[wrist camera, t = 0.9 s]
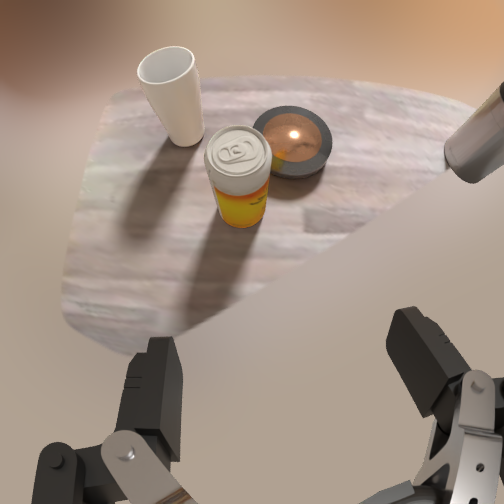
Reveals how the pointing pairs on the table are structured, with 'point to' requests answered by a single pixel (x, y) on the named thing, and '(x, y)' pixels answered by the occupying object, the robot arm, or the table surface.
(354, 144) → the table surface
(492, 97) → the robot arm
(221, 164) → the beer can
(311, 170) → the disc
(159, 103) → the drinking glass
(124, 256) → the table surface
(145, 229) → the table surface
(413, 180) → the table surface
